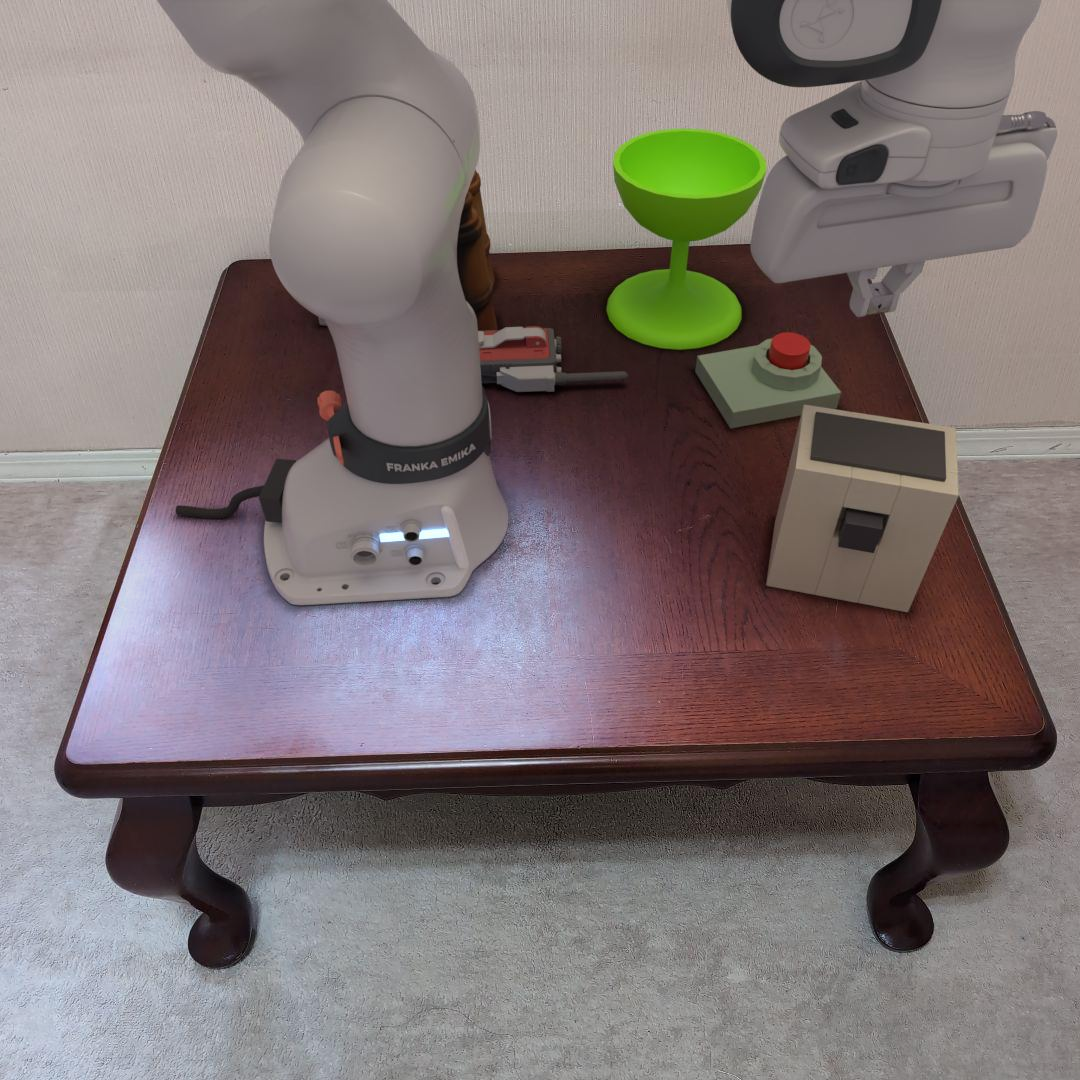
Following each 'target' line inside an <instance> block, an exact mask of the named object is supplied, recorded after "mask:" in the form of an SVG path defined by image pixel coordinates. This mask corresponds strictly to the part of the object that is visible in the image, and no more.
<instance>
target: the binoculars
mask: <svg viewBox="0 0 1080 1080" xmlns="http://www.w3.org/2000/svg"><path fill="white" fill-rule="evenodd" d="M481 186H482V180H481V176H480V174H479V173H478V171H477V168H476V169H475V172H474V175H473V178H472V180H471V183H470V186H469V189H468V192H467V195H466V197H465V202H464V207H463V210H462V214H461V219H460V225H459V232H458V239H457V267H458V274H459V279H460V283H461V287H462V290H463V293H464V297H465V300H466V301H467V302H468V303H469V304H470V306H471V307H472V309H473V310H474V312H475V315H476V318H477V326H478V331H486V330H498V322H497V317H496V312H495V307H494V301H493V294H494V285H495V275H494V269H493V264H492V259H491V253H490V251H491V250H490V249H491V239H490V235H489V234H488V232H487V225H486V219H485V212H484V211H485V210H484V206H483V200H482V199H483V198H482V192H481Z"/></svg>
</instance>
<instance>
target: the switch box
mask: <svg viewBox="0 0 1080 1080" xmlns="http://www.w3.org/2000/svg"><path fill="white" fill-rule="evenodd" d="M771 341H772V338H766V339H765V340H764V341H762V342H761V343H759V344H757V345H752V346H751V345H750V346H746V347H740V348H735V349H734V348H733V349H729V350H722V351H717V352H711V353H705V354H700V355H697V356H696V363H695V370H694V371H695V374H696V376H697V377H698V379H699V380H700V382H701V384H702V386H703V387H704V388H705V390H706V391H707V393H708V396H709V397H710V398H711V400H712V401H713V403H714V405H715V406H716V408H717V409H718V412H719V413H720V414H721V416H722V418H723V419H724V421H725V422H726V424H727V425H728V427H729V429H736V428H741V427H746V426H752V425H753V426H754V425H757V424H763V423H768V422H773V421H779V420H784V419H789V418H794V417H801V413H802V409H803V405H810V406H817V407H823V408H830V409H836V410H838V405H839V402H840V398H841V396H842V395H841V394H842V391H841V390H840V389H839V387H837V385H836V384H835V382H834V381H833V380H832V378H830V376H829V374H828V373H827V372H826V371H825V370H824V368H823V366H822V363H823V362H822V361H823V356H822V354H821V353H820V352H819V350H818V349H817V348H816V346H814V345H812V344H810V345H811V347H810V351H809V355H808V360H807V364H806V365H805V366H804V367H803V368H802V369H796V370H788V369H781V368H778V367H776V366H774V365H772V364H771V363H770V362H769V359H768V355H769V350H770V345H771Z"/></svg>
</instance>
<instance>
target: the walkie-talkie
mask: <svg viewBox="0 0 1080 1080" xmlns="http://www.w3.org/2000/svg"><path fill="white" fill-rule="evenodd" d="M478 339H479V354H480V368H481V383H482V384H496V385H500V386H501V387H504V388H506V389H508V390H511V391H513V392H516V393H527V392H528V393H529V392H531V393H532V392H547V393H551V392H552V393H553V392H555V386H565V385H567V384H580V383H581V384H582V383H583V384H584V383H601V382H603V381H612V380H613V381H614V380H615V381H616V380H627V379H628V377H629V374H628V373H627V371H624V370H621V371H596V372H594V371H593V372H571V373H567V372H563V371H562V366H561V367H560V366H557V364H558V363H562V351H563V350H562V348H563V347H562V337H561V336H556V337H555V331H554V328H550V327H542V326H539V325H531V326H525V327H523V326H508V327H507V326H505V327H503V328H502V329H497V330H486V331H478Z"/></svg>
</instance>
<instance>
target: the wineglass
mask: <svg viewBox="0 0 1080 1080" xmlns="http://www.w3.org/2000/svg"><path fill="white" fill-rule="evenodd" d="M612 159H613V160H612V169H613V178H614V183H615V186H616V189H617V191H618V194H619V196H620V199H621V202H622V205H623V207H624V208H625V209H626V211H627V212H628V213H629V214H630V216H631V217H632V218H633V219H634V221H636V223H638V224H639V226H641V227H642V228H644V229H646V230H647V231H649V232H651V233H652V234H654V235H656V236H658V237H659V238H663V239H665V240H670V241H672V242H671V252H670V260H669V261H670V263H669V268H663V269H652V270H649V271H645V272H640V273H638V274H635V275H633V276H631V277H628V278H626V279H625V280H623V281H622V282H621V283H619V284H618V285H617V286H615V288H614V289H613V291H612V292H611V294H610V295H609V297H608V298H607V303H606V309H605V310H606V313H607V317H608V320H609V322H610V323H612V325H613V327H614V328H615V329H616V330H617V331H618V332H620V333H621V334H622V335H624V336H626V338H629V339H631V340H633V341H635V342H638V343H640V344H643V345H646V346H650V347H654V348H658V349H665V350H678V351H680V350H681V351H682V350H692V349H694V350H695V349H700V348H704V347H708V346H711V345H716V344H717V343H719V342H721V341H724V340H725V339H728V337H730V336H731V335H732V334H733V333H734V332H735V331H736V330H737V329H738V327H739V326H740V323H741V321H742V320H743V319H742V318H743V317H742V312H743V311H742V305H741V303H740V302H739V300H738V297H737V296H736V294H735V293H734V292H733V291H732V290H731V289H730V288H729V287H728V286H727V285H726V284H724V283H723V282H721V281H719V280H718V279H715V278H714V277H712V276H709V275H706V274H704V273H702V272H697V271H692V270H687V268H688V257H689V250H690V249H689V248H690V242H697V241H702V240H706V239H709V238H711V237H714V236H717V235H718V234H721V233H724V232H725V231H727V230H728V229H729V228H730V227H732V226H733V225H735V223H737V222H738V221H739V220H740V219H741V218H743V216H745V215H746V214H747V213H748V211H749V209H750V208H751V206H752V204H754V201H755V200H756V198H758V197H757V196H758V195H759V193H760V191H761V189H762V188H763V187H762V186H763V183H764V180H765V177H766V174H767V169H768V168H767V160H766V158H765V157H764V155H763V154H762V151H760V150H759V149H758V148H756V147H755V146H753V144H751V143H749V142H747V141H745V140H743V139H740V138H739V137H737V136H734V135H729V134H727V133H723V132H720V131H715V130H709V129H708V130H707V129H702V128H699V129H698V128H684V127H683V128H666V129H659V130H655V131H650V132H645V133H643V134H640V135H637V136H634V137H631V138H630V139H628V140H626V141H625V142H623V143H622V144H621V145H620V146H619V147H618V148H617V150H616V151H615V152H614V155H613V158H612Z"/></svg>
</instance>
